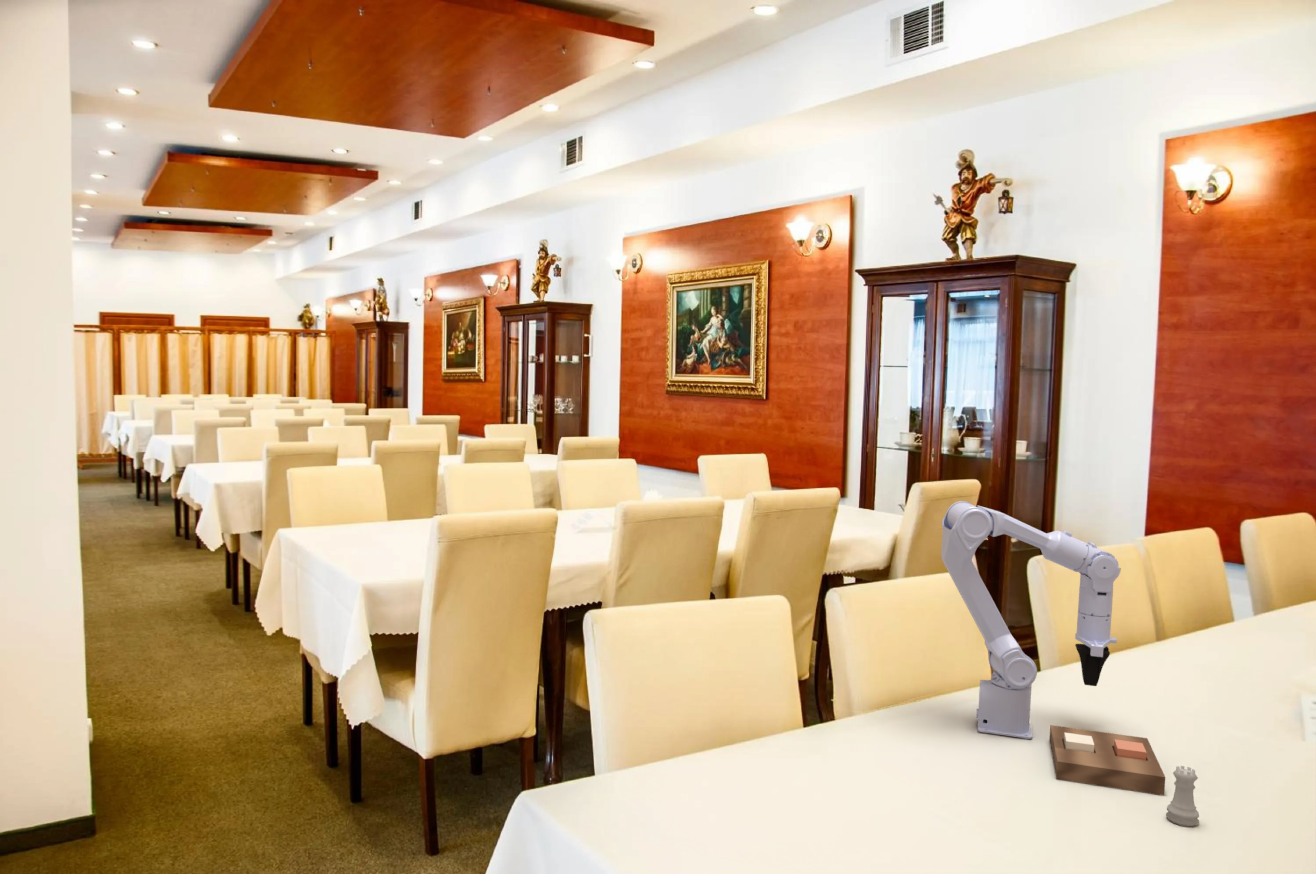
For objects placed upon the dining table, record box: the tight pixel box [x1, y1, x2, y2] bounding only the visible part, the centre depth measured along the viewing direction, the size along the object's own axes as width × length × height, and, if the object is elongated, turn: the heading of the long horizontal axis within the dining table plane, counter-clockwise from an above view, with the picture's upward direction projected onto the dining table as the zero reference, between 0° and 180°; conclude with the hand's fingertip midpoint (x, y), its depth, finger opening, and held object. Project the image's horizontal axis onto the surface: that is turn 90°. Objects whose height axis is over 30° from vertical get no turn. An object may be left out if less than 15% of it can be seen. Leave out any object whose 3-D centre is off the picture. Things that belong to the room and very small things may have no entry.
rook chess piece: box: [1165, 765, 1200, 828], centre depth 145 cm, size 4×4×8 cm
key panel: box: [1049, 724, 1166, 796], centre depth 165 cm, size 16×18×3 cm
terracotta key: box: [1114, 739, 1147, 760], centre depth 163 cm, size 4×4×4 cm
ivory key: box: [1064, 732, 1094, 753], centre depth 166 cm, size 4×4×4 cm
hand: (1090, 684), depth 180 cm, fingers closed
